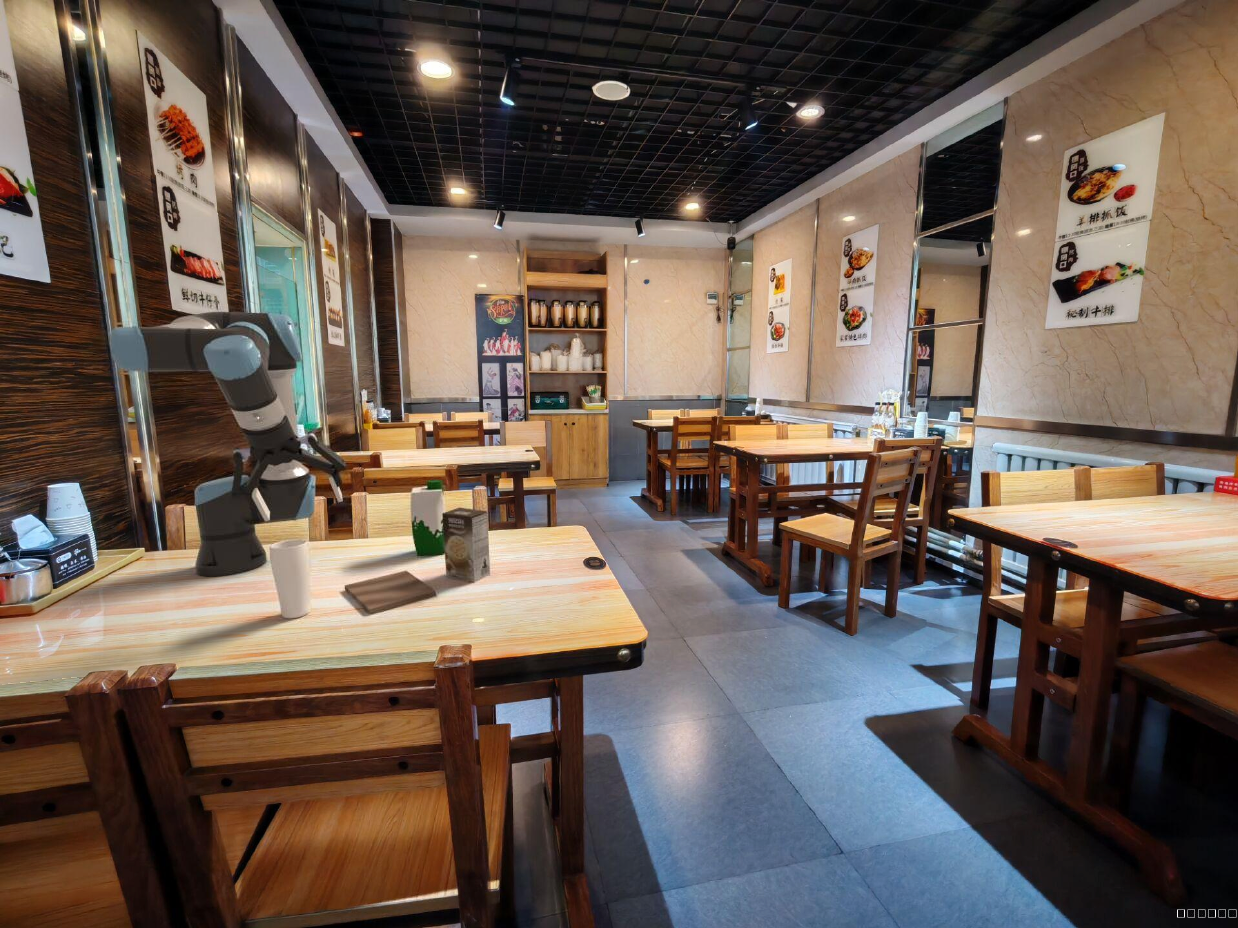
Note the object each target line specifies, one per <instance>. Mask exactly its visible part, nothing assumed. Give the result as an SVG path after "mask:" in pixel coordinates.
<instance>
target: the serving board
mask: <svg viewBox="0 0 1238 928" xmlns="http://www.w3.org/2000/svg"><path fill="white" fill-rule="evenodd" d="M344 591H345V593H347V594H348V595H349V596H350V597H351V598H352V599H353V600H355V602H356V603H357V604H358V605H359V606H361V607H362V609H363V610H365V612H367V614H369V615H373V614H374V615H375V614H378V613H381V612H382V613H383V612H385V611H388V610H392V609H395V608H399V607H403V606H406V605H409V604H413V603H416V602H420V601H424V600H427V599H431V598H435V597H437V590H436V589H434V588H433V587H432V586H430V585H428V584H427V583H425V582H424V581H422V580H421V579H419V578H418V577H417V576H415V575H413V574H412V573H411V572H409V571H408V570H403V571H399V572H394V573H390V574H387V575H386V574H385V575H381V576H378V577H374V578H371V579H370V578H369V579H366V580H361V581H357V582H354V583H349V584H348V583H347V584H345V585H344Z"/></svg>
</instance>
